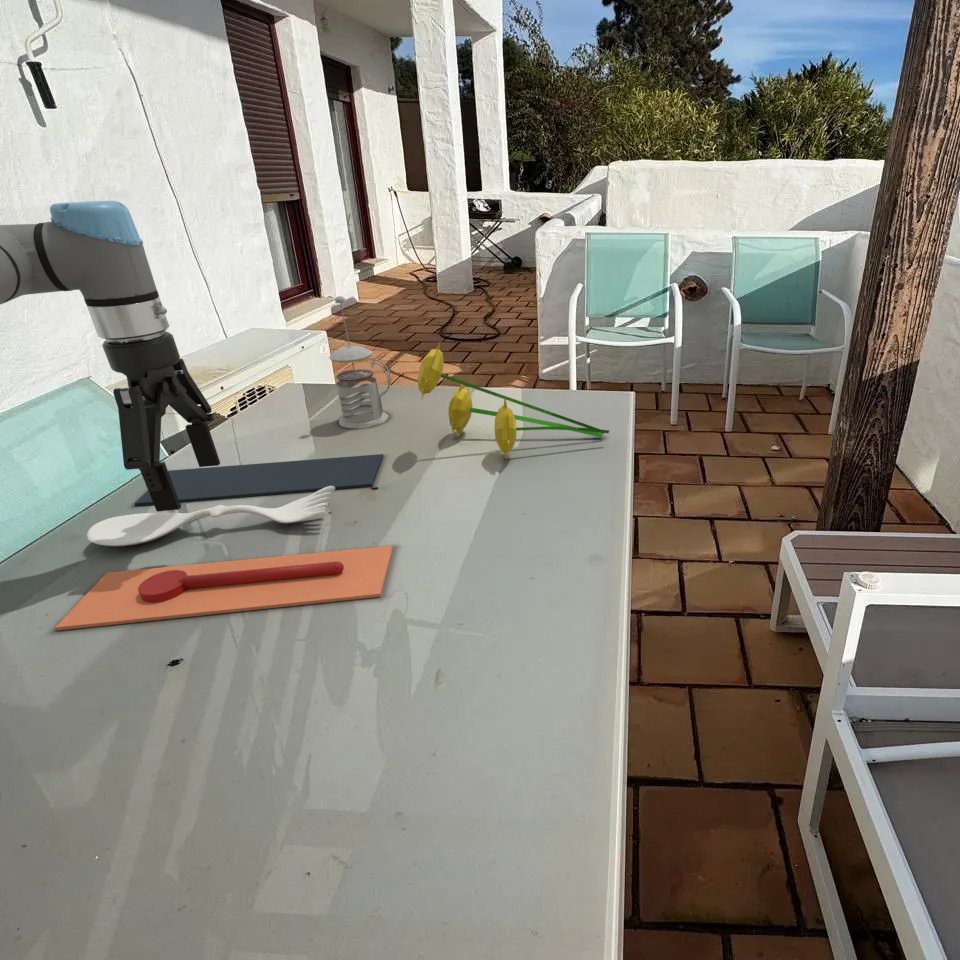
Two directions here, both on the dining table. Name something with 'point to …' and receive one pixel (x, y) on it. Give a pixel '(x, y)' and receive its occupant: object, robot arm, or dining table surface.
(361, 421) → the french press
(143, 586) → the red spoon
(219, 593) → the terracotta mat
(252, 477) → the slate mat
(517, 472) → the dining table surface
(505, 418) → the flowers
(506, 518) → the dining table surface
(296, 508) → the white spork
